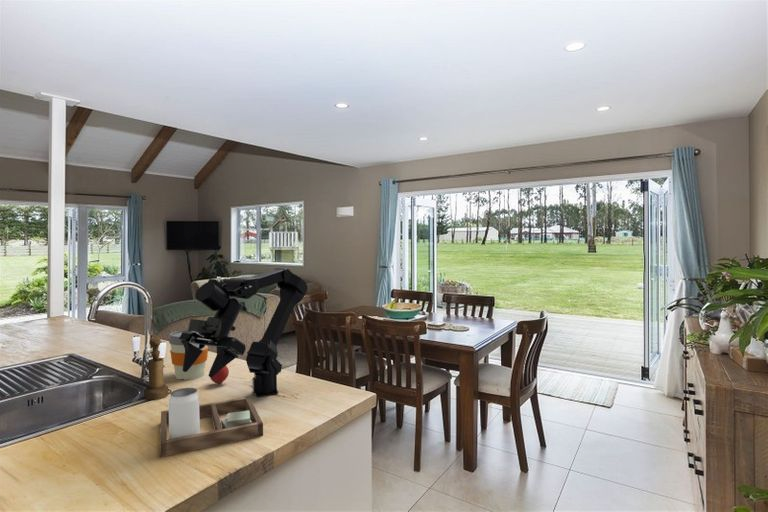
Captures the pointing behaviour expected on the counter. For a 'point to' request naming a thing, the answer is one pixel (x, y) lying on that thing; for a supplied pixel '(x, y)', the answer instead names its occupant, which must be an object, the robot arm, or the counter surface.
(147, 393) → the wooden pepper mill
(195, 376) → the reusable coffee cup
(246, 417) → the offcut stack
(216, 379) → the red pomegranate
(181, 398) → the can
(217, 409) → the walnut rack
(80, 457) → the counter surface
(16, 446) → the counter surface
